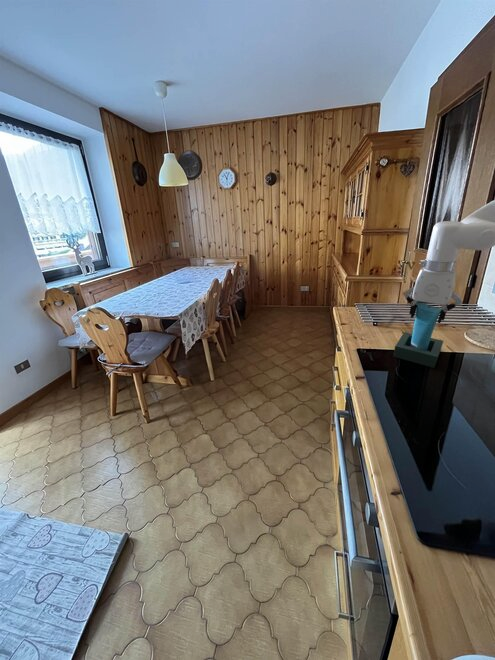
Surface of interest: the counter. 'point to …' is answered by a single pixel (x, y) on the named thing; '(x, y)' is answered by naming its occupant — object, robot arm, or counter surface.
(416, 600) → the counter surface
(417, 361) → the dark green square tray
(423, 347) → the tube
